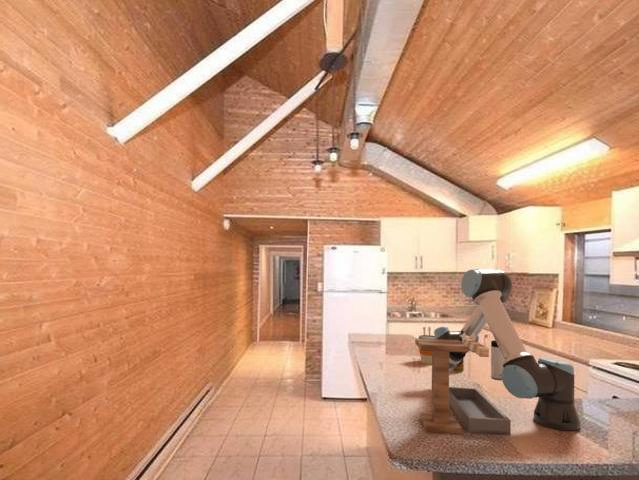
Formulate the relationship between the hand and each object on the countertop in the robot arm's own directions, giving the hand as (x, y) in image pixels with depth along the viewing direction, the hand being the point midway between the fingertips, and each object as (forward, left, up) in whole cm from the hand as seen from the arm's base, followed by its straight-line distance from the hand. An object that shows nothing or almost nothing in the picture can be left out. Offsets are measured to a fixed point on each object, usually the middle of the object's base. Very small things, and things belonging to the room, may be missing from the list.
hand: (469, 336), depth 160 cm
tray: (-3, +3, -30) cm, 30 cm away
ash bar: (-3, +3, -4) cm, 6 cm away
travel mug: (+13, -55, -30) cm, 64 cm away
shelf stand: (-1, +24, -30) cm, 38 cm away
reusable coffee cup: (+55, -56, -30) cm, 84 cm away
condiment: (+35, -53, -30) cm, 70 cm away
